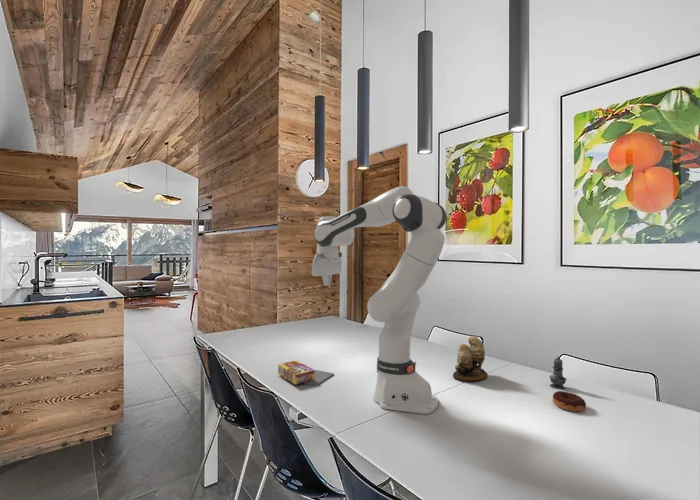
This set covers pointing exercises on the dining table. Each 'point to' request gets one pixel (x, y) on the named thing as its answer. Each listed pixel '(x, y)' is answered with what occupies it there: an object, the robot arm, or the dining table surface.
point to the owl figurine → (470, 362)
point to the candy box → (296, 372)
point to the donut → (569, 401)
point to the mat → (318, 377)
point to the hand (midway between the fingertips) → (326, 285)
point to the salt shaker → (557, 375)
